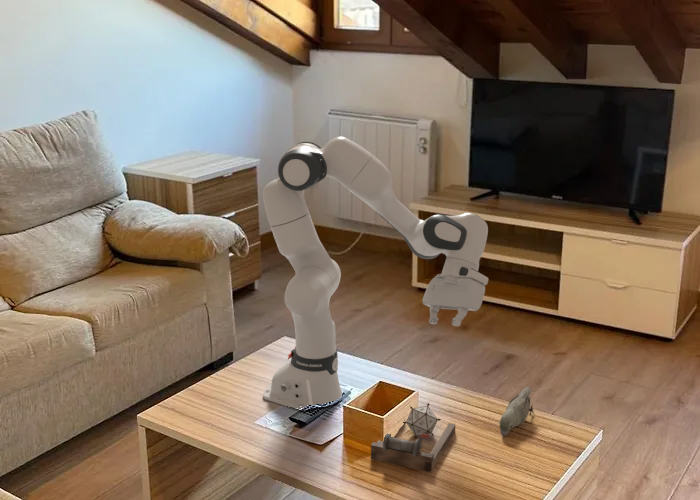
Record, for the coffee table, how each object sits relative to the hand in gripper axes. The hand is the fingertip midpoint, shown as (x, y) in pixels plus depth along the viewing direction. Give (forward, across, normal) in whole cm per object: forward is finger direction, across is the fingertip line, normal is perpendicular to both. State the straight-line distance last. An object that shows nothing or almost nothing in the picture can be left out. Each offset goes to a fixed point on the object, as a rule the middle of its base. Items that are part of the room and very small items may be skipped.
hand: (443, 324), depth 216 cm
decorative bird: (+18, +6, +28) cm, 34 cm away
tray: (+31, -1, +3) cm, 32 cm away
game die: (+28, -4, +6) cm, 29 cm away
